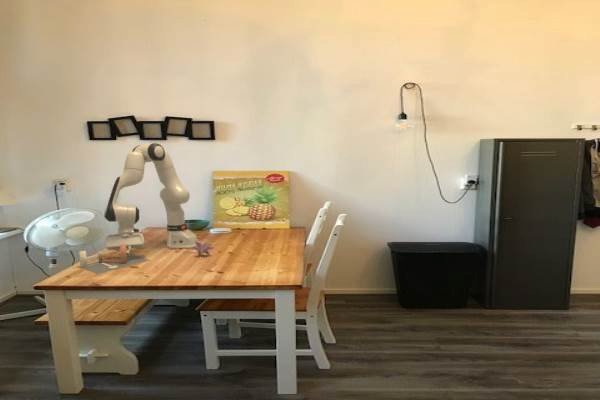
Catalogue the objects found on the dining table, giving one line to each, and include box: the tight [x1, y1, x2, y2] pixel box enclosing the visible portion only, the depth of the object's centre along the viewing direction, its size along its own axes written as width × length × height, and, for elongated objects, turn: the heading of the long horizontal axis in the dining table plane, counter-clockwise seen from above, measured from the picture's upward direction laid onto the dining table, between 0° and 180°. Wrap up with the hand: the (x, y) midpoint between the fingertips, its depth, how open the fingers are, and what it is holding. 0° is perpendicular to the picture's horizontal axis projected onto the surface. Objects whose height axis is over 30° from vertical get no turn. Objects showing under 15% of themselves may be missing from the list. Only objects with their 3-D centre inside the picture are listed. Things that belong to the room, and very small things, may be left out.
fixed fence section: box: [78, 250, 103, 269], centre depth 209 cm, size 3×12×8 cm, turn 143°
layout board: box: [78, 253, 150, 275], centre depth 212 cm, size 22×30×1 cm
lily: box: [191, 240, 215, 256], centre depth 224 cm, size 12×12×10 cm
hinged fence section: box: [102, 244, 128, 263], centre depth 212 cm, size 3×14×10 cm, turn 84°
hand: (125, 254), depth 214 cm, fingers closed
